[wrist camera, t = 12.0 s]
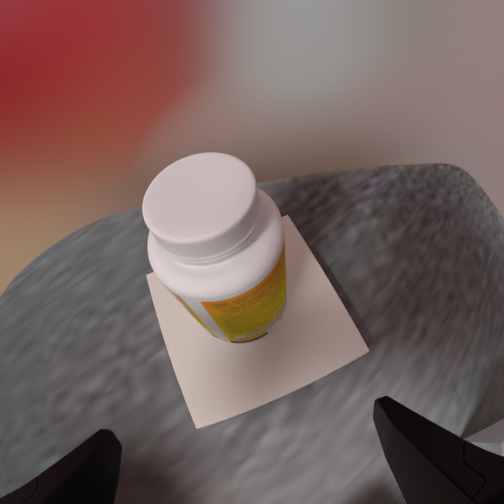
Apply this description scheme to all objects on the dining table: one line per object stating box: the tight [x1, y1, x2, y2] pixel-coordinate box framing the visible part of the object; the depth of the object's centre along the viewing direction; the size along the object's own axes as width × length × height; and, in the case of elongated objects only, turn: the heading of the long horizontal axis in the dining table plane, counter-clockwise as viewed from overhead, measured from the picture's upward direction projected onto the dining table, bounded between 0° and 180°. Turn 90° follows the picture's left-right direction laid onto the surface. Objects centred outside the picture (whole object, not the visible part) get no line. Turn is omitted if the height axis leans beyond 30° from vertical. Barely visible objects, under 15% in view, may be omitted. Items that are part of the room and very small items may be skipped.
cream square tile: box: [146, 215, 369, 429], centre depth 18 cm, size 11×11×1 cm
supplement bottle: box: [142, 152, 287, 344], centre depth 14 cm, size 6×6×10 cm
